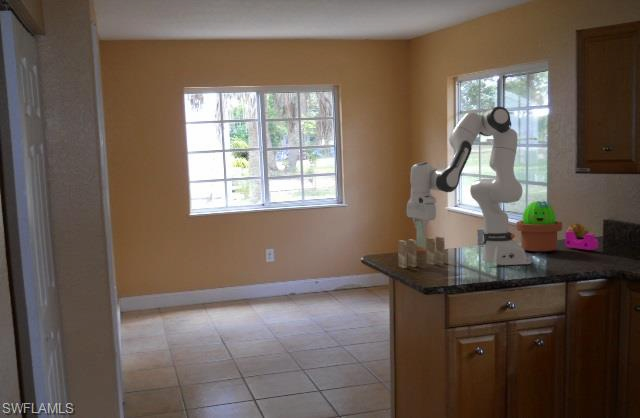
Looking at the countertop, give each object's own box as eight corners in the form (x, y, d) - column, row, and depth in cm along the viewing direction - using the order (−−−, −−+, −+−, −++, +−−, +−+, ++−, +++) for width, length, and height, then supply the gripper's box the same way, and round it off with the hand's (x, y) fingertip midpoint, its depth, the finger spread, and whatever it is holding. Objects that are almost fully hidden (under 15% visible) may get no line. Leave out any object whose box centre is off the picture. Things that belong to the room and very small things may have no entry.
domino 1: (411, 264, 306) (410, 239, 305) (416, 266, 302) (416, 240, 300) (408, 265, 306) (407, 239, 304) (413, 266, 301) (413, 240, 300)
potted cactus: (516, 245, 351) (516, 198, 348) (560, 245, 345) (560, 197, 342) (516, 252, 330) (516, 202, 327) (563, 252, 324) (563, 201, 321)
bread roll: (563, 235, 381) (563, 221, 380) (578, 234, 383) (578, 220, 382) (576, 238, 368) (576, 223, 368) (591, 237, 370) (592, 222, 370)
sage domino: (422, 247, 302) (422, 221, 301) (416, 246, 307) (416, 220, 306) (425, 247, 303) (425, 221, 302) (419, 246, 307) (419, 220, 306)
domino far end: (401, 265, 304) (400, 240, 303) (407, 267, 300) (406, 241, 299) (398, 266, 304) (397, 240, 303) (403, 268, 299) (403, 241, 298)
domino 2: (429, 262, 310) (429, 237, 309) (435, 264, 305) (435, 238, 304) (426, 263, 309) (426, 237, 308) (432, 264, 305) (432, 238, 304)
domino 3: (438, 261, 312) (438, 236, 311) (444, 263, 307) (444, 237, 306) (436, 261, 311) (435, 236, 310) (441, 263, 307) (441, 237, 305)
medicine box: (493, 244, 356) (493, 228, 355) (492, 245, 352) (492, 229, 351) (478, 244, 359) (478, 228, 358) (477, 245, 355) (477, 229, 354)
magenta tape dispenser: (598, 248, 333) (598, 233, 333) (589, 249, 331) (589, 234, 330) (574, 244, 347) (574, 230, 346) (565, 246, 344) (565, 231, 343)
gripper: (403, 197, 311) (403, 226, 312) (426, 200, 292) (426, 231, 293) (414, 196, 313) (415, 225, 315) (438, 199, 294) (438, 230, 296)
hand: (420, 228), depth 304 cm, fingers closed on sage domino, 5 cm apart
